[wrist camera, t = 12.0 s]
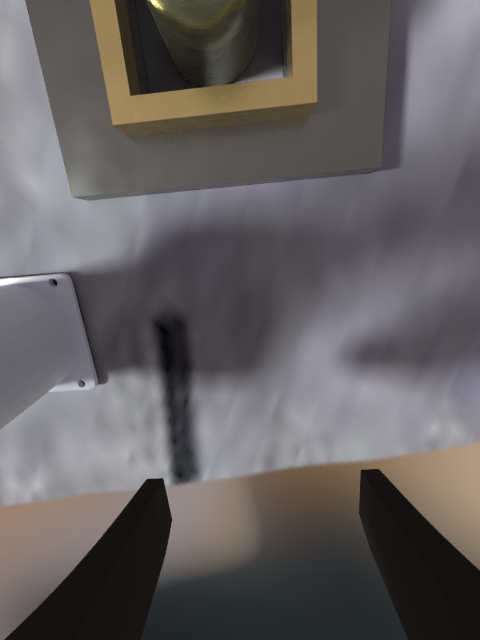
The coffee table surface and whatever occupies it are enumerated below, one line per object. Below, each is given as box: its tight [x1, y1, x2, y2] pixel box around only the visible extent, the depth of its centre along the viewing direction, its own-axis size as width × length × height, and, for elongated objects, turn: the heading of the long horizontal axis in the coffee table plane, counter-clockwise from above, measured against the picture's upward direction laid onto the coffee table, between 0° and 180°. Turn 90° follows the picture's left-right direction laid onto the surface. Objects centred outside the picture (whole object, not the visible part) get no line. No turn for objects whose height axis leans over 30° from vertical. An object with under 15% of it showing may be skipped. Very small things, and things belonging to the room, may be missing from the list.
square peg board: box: [25, 0, 391, 200], centre depth 12 cm, size 16×14×4 cm
